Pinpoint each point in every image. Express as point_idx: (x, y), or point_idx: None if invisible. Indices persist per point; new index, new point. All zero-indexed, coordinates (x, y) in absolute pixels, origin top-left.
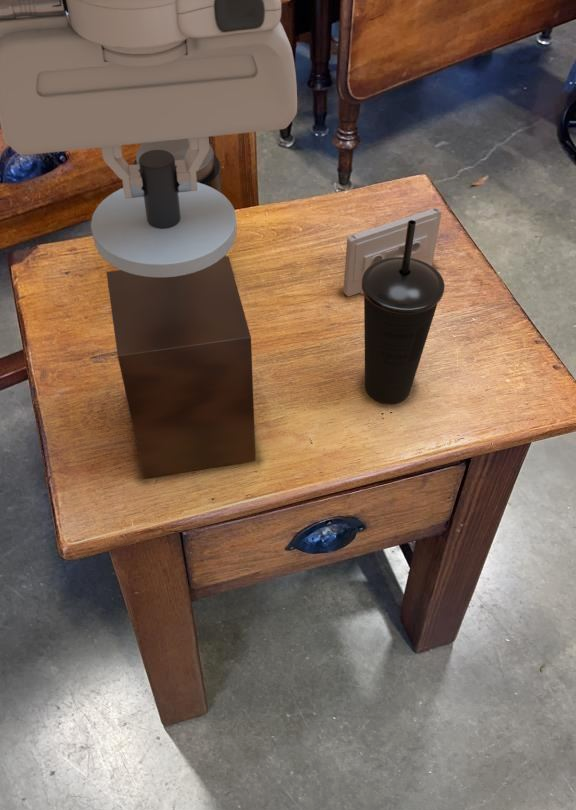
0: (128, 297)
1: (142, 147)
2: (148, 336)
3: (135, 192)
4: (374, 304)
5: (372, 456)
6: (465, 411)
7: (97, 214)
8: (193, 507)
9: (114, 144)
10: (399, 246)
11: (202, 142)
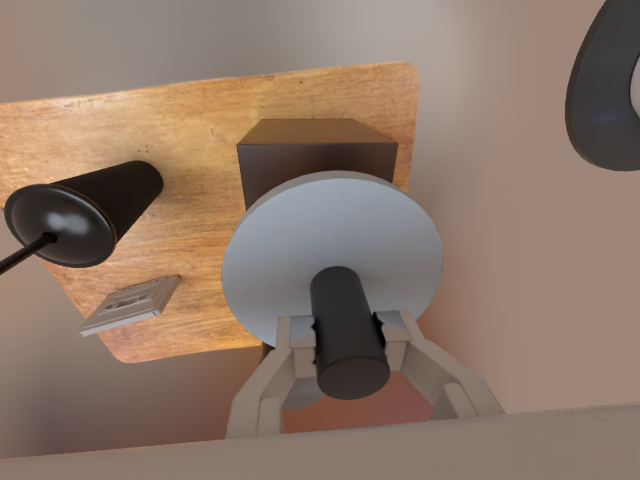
0: None
1: (319, 397)
2: (358, 169)
3: (393, 316)
4: (96, 205)
5: (155, 102)
6: (65, 139)
7: (423, 304)
8: (318, 76)
9: (492, 421)
10: (121, 306)
11: (246, 418)
